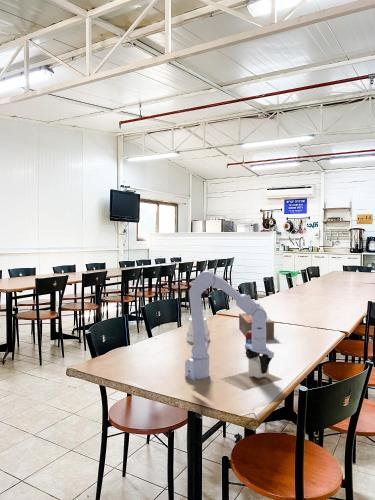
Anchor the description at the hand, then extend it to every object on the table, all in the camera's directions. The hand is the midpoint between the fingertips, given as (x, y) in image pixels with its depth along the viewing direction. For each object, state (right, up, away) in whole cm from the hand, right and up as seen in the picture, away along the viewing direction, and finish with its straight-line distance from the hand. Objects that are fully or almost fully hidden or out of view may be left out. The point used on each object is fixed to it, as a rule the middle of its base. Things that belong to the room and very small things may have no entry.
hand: (258, 370), depth 156 cm
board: (-3, -4, -2) cm, 6 cm away
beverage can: (+3, -3, +32) cm, 32 cm away
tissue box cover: (+12, -2, +74) cm, 74 cm away
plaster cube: (0, -1, 0) cm, 1 cm away
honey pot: (-23, -2, +62) cm, 66 cm away
